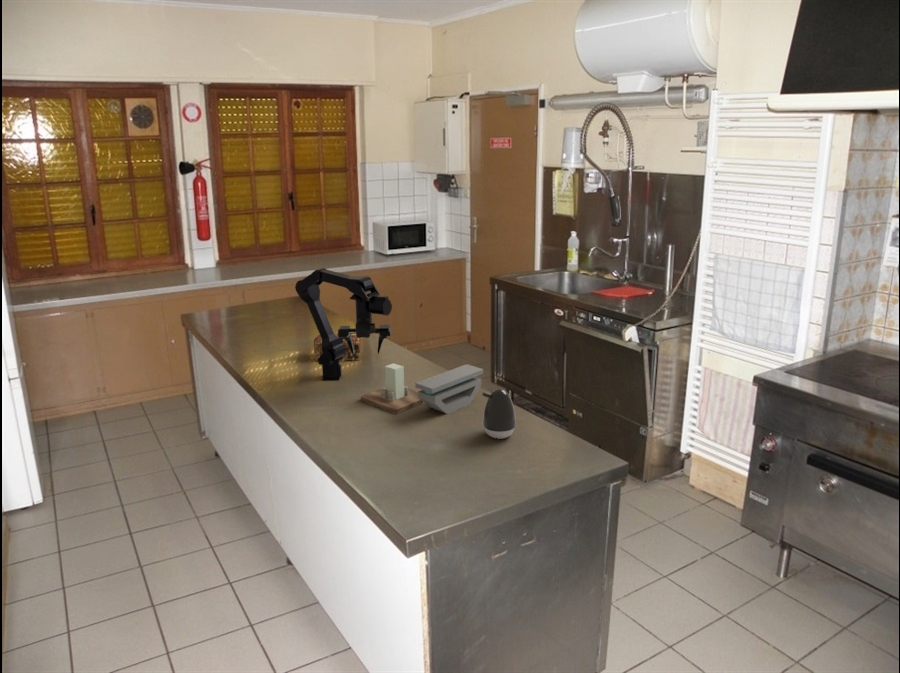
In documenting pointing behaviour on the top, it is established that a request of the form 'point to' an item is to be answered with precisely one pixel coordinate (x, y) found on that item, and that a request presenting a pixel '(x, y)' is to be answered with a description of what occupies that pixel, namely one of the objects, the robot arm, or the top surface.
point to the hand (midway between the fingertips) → (365, 353)
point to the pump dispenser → (499, 414)
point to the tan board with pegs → (393, 400)
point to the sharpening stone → (450, 388)
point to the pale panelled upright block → (395, 380)
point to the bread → (348, 353)
